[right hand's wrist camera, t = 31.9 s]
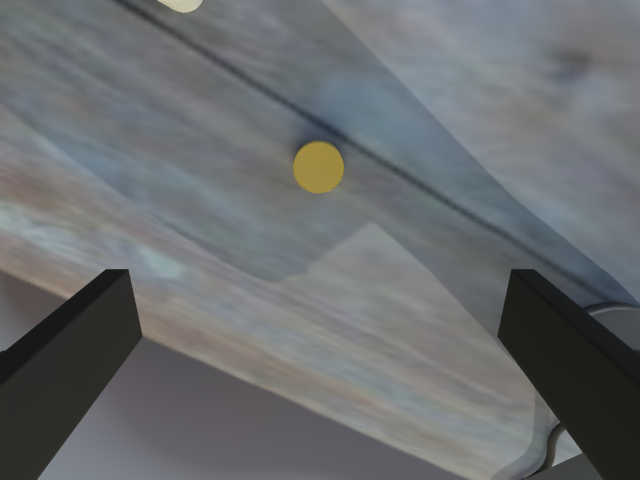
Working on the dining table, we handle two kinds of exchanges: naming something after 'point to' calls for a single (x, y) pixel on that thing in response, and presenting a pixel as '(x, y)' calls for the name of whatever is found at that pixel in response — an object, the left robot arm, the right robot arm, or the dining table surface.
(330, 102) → the dining table surface
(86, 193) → the dining table surface
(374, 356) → the dining table surface
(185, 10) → the white cylinder
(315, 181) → the lid
